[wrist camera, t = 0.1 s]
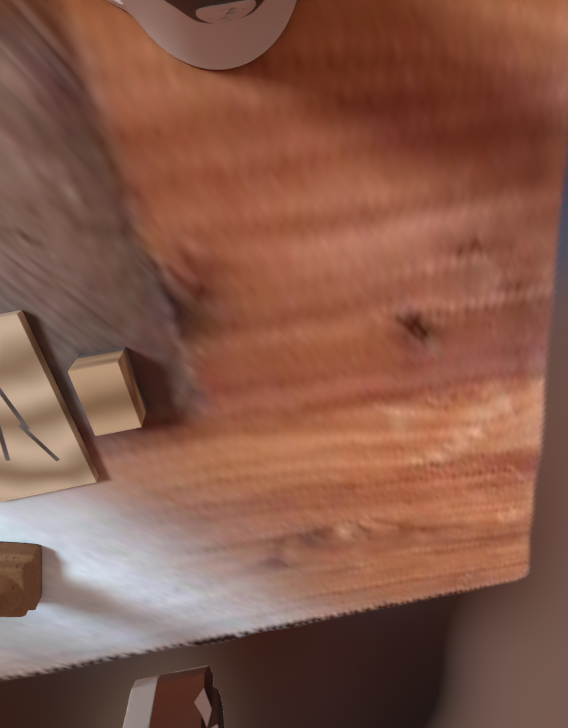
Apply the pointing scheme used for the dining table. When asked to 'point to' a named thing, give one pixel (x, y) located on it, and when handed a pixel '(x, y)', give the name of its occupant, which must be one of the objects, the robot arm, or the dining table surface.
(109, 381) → the block
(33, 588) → the candle holder
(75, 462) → the board
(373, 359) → the dining table surface
